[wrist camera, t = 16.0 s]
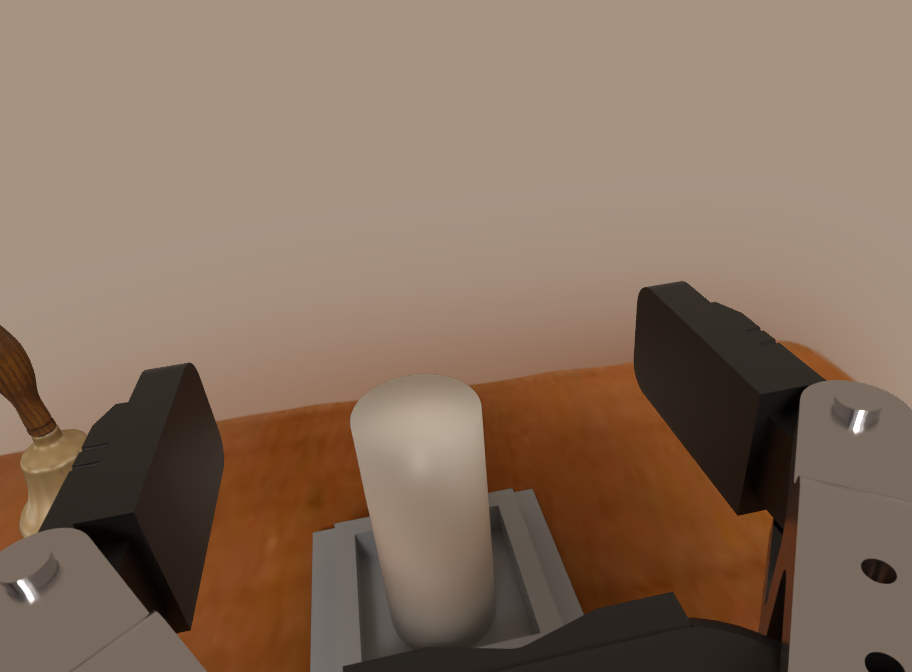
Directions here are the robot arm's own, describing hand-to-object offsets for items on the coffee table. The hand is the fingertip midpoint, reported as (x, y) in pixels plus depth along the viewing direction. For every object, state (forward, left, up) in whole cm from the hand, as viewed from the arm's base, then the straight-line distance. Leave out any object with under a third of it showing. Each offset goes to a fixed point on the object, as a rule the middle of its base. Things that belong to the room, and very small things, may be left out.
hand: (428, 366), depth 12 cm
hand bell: (-25, +30, -26) cm, 47 cm away
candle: (0, +14, -25) cm, 29 cm away
